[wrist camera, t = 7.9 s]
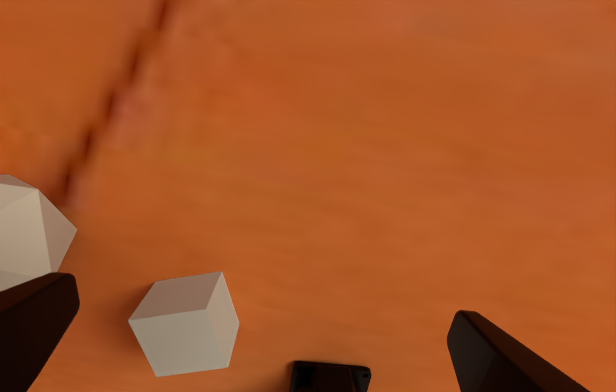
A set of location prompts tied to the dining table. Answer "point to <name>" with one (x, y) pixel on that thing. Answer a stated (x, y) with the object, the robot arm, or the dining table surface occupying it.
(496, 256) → the dining table surface
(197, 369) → the grey block
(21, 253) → the pale faceted polyhedron
